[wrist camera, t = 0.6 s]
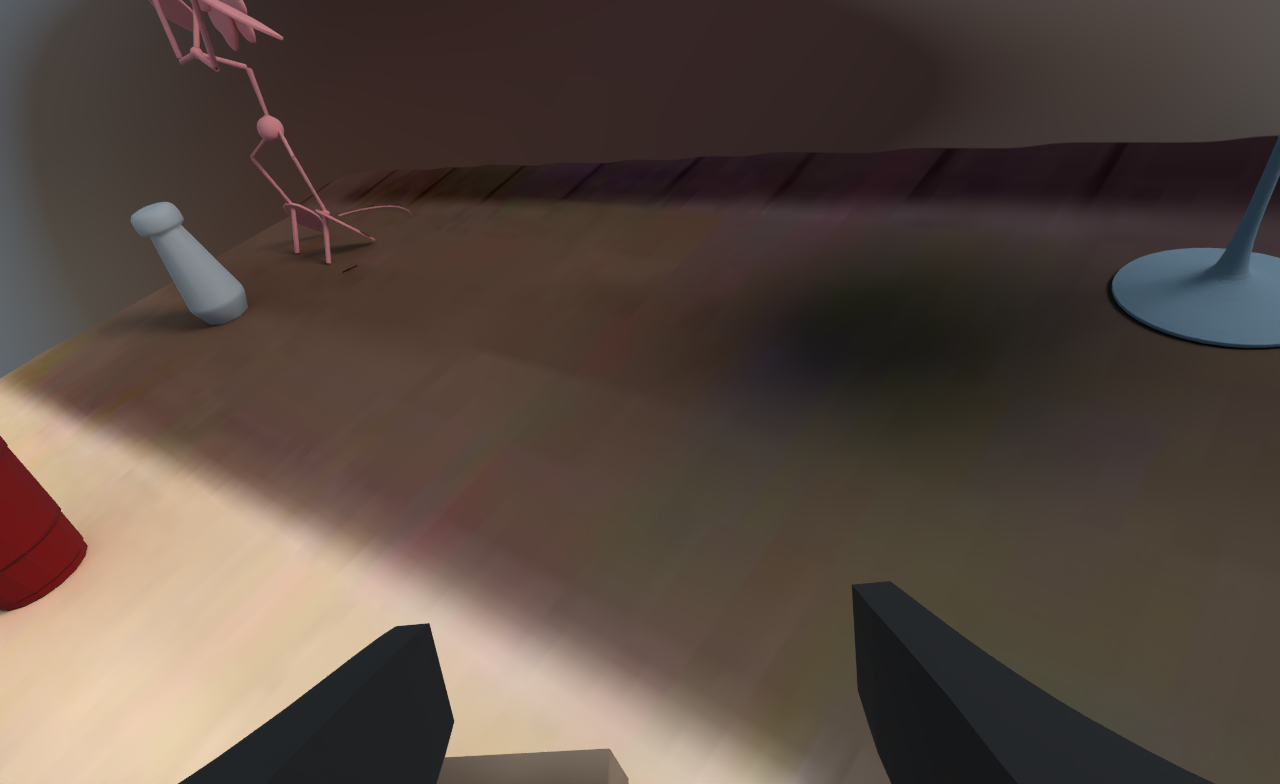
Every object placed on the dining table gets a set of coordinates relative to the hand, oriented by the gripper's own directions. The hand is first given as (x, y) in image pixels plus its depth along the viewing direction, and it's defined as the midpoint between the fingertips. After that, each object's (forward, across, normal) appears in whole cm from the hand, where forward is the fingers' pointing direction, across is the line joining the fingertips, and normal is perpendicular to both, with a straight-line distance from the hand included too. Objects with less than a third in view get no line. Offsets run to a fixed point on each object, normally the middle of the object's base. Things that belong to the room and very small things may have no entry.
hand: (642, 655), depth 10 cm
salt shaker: (+59, +50, -4) cm, 77 cm away
